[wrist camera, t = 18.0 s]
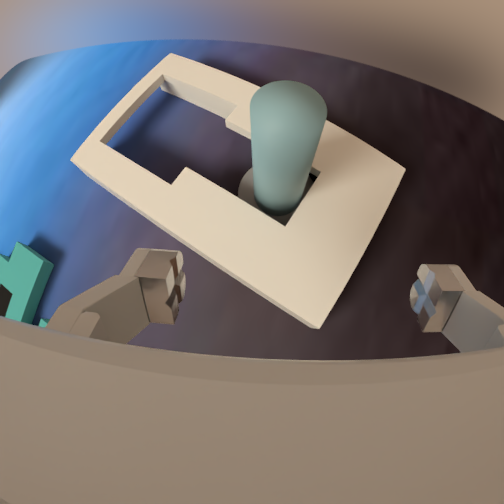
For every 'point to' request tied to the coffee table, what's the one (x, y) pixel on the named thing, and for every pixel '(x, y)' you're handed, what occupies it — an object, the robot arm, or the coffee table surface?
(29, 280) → the alien figure
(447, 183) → the coffee table surface
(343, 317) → the coffee table surface
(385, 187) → the keyhole track
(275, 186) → the round-topped green peg
